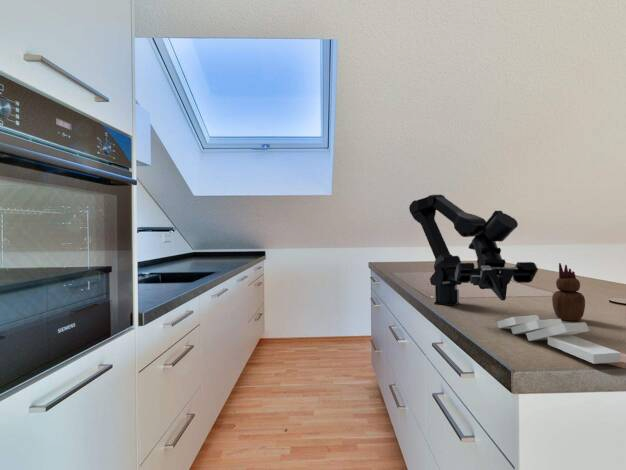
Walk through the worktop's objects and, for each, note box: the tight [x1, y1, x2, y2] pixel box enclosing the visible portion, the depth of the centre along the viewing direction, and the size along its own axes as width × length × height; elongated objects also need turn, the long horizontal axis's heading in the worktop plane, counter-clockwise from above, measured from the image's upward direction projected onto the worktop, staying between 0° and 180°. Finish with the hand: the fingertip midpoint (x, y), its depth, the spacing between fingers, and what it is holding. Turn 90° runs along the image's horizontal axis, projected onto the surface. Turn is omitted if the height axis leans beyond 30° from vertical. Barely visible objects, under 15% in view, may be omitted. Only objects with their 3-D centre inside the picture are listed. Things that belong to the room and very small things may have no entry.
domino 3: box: [525, 322, 590, 342], centre depth 66 cm, size 2×5×10 cm
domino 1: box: [497, 314, 540, 329], centre depth 75 cm, size 2×5×10 cm
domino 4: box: [547, 335, 622, 365], centre depth 61 cm, size 2×5×10 cm
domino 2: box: [510, 318, 563, 335], centre depth 71 cm, size 2×5×10 cm
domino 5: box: [562, 351, 626, 370], centre depth 61 cm, size 2×5×10 cm
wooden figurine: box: [551, 262, 586, 322], centre depth 86 cm, size 7×6×15 cm
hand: (503, 299), depth 80 cm, fingers closed
